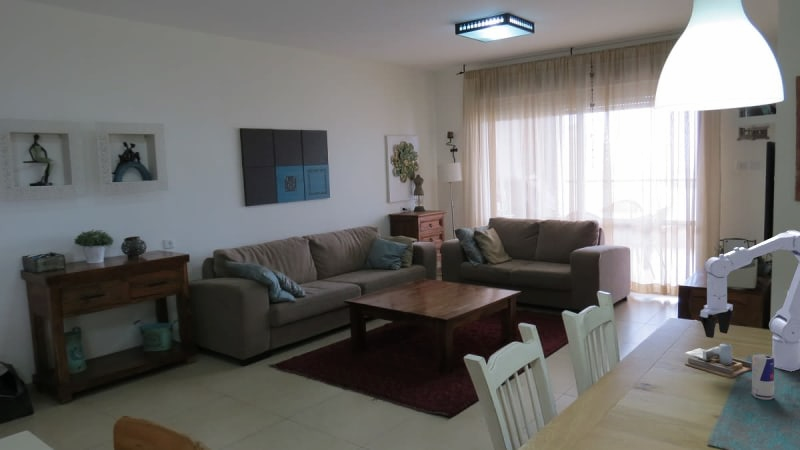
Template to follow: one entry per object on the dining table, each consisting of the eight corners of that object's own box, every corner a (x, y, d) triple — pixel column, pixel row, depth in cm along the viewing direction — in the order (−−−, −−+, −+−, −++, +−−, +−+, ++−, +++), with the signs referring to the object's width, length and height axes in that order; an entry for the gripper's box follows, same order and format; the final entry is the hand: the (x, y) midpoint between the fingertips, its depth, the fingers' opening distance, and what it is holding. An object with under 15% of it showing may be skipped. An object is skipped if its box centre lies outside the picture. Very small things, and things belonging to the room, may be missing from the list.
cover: (698, 349, 201) (698, 341, 201) (721, 355, 194) (721, 347, 194) (684, 354, 197) (684, 346, 197) (706, 360, 191) (706, 351, 190)
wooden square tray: (711, 356, 201) (711, 350, 201) (755, 368, 188) (755, 361, 187) (685, 365, 194) (685, 358, 194) (729, 378, 181) (729, 371, 181)
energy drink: (777, 400, 163) (777, 359, 162) (756, 400, 164) (756, 358, 163) (769, 393, 168) (769, 352, 167) (748, 392, 169) (749, 352, 168)
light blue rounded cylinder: (724, 363, 191) (724, 343, 191) (734, 366, 188) (734, 345, 188) (717, 365, 190) (717, 345, 189) (727, 369, 187) (727, 347, 186)
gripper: (718, 289, 196) (718, 328, 198) (691, 295, 189) (691, 336, 190) (739, 292, 190) (738, 332, 191) (712, 299, 183) (712, 341, 184)
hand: (716, 335), depth 191 cm, fingers open, 7 cm apart
